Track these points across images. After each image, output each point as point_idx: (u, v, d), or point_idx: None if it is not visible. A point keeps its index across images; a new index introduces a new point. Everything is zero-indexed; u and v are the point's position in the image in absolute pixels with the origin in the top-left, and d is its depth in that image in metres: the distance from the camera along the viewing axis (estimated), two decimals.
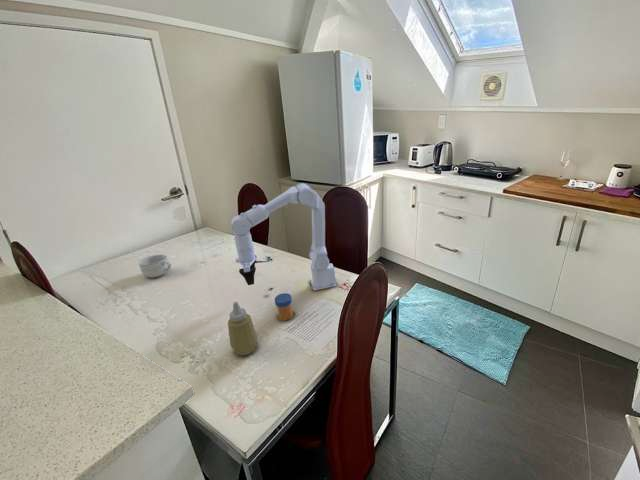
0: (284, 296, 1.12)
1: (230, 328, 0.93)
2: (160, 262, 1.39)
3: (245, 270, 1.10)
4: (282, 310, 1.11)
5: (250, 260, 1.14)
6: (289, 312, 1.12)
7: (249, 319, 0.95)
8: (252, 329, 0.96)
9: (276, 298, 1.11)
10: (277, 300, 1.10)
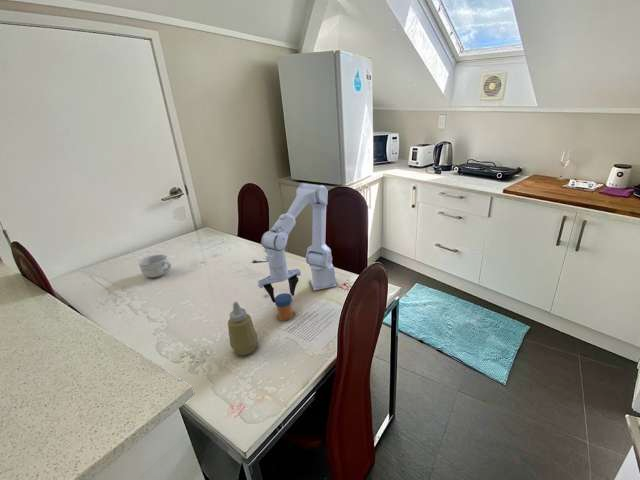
0: (284, 296, 1.12)
1: (230, 328, 0.93)
2: (160, 262, 1.39)
3: (258, 284, 1.05)
4: (282, 310, 1.11)
5: (273, 279, 1.05)
6: (289, 312, 1.12)
7: (249, 319, 0.95)
8: (252, 329, 0.96)
9: (276, 298, 1.11)
10: (277, 300, 1.10)
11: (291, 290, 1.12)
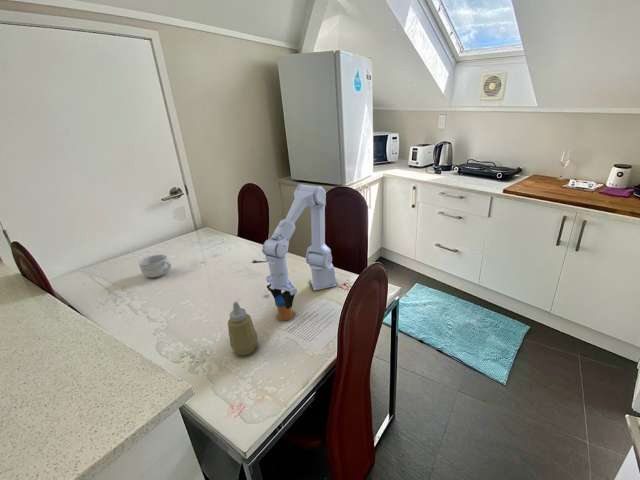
0: None
1: (230, 328, 0.93)
2: (160, 262, 1.39)
3: (293, 293, 1.05)
4: (282, 310, 1.11)
5: (288, 282, 1.08)
6: (289, 312, 1.12)
7: (249, 319, 0.95)
8: (252, 329, 0.96)
9: (276, 298, 1.11)
10: (277, 300, 1.10)
11: None
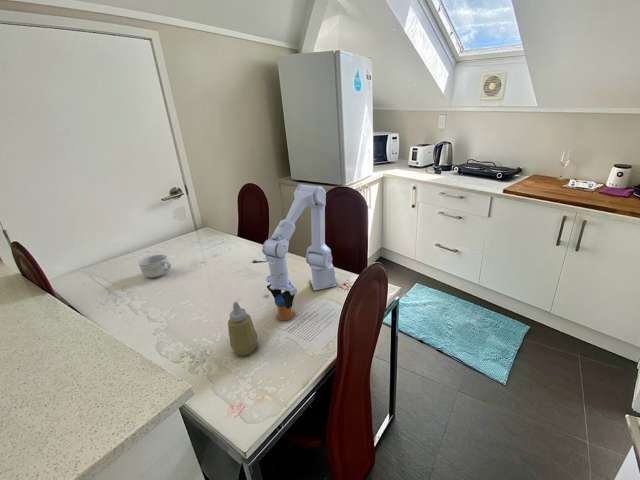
0: (281, 296, 1.12)
1: (230, 328, 0.93)
2: (160, 262, 1.39)
3: (293, 293, 1.05)
4: (283, 310, 1.11)
5: (288, 283, 1.08)
6: (289, 312, 1.12)
7: (249, 319, 0.95)
8: (252, 329, 0.96)
9: (280, 301, 1.09)
10: None
11: None
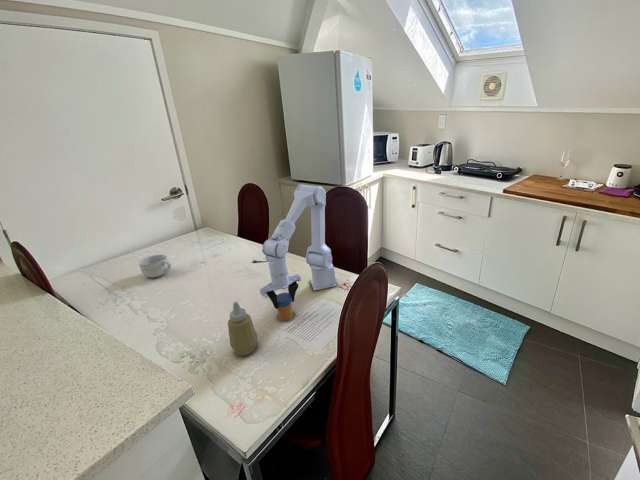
0: (280, 298, 1.11)
1: (230, 328, 0.93)
2: (160, 262, 1.39)
3: None
4: (283, 310, 1.11)
5: None
6: (289, 311, 1.12)
7: (249, 319, 0.95)
8: (252, 329, 0.96)
9: (288, 298, 1.11)
10: (289, 295, 1.12)
11: None
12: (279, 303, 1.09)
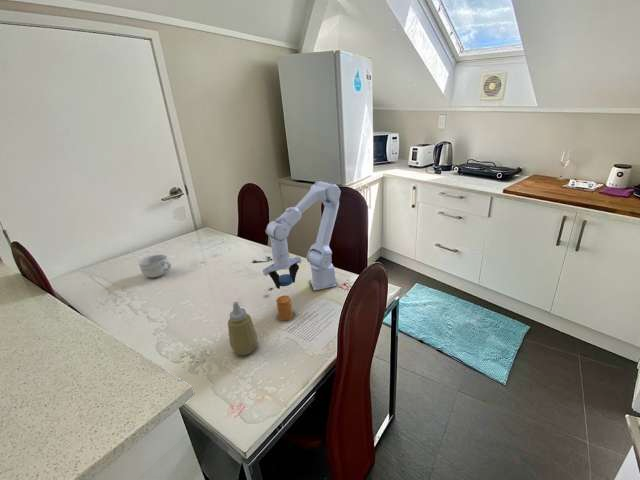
0: (282, 279, 1.18)
1: (230, 328, 0.93)
2: (160, 262, 1.39)
3: None
4: (283, 310, 1.11)
5: None
6: (289, 311, 1.12)
7: (249, 319, 0.95)
8: (252, 329, 0.96)
9: (290, 278, 1.18)
10: (290, 276, 1.19)
11: None
12: (281, 283, 1.16)
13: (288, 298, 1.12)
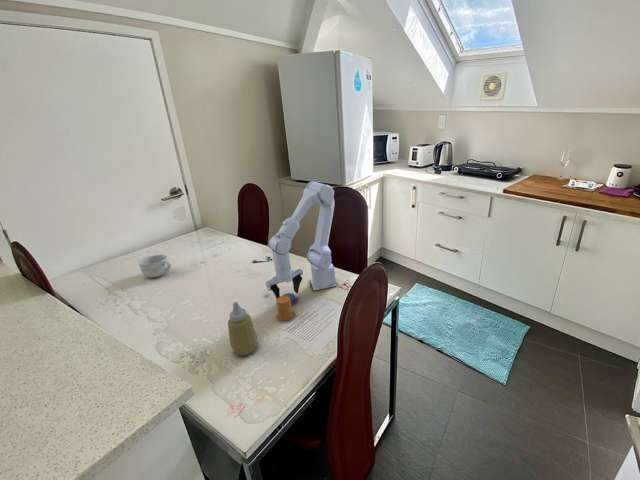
0: None
1: (230, 328, 0.93)
2: (160, 262, 1.39)
3: None
4: (283, 310, 1.11)
5: None
6: (289, 311, 1.12)
7: (249, 319, 0.95)
8: (252, 329, 0.96)
9: (292, 298, 1.22)
10: (293, 296, 1.23)
11: None
12: None
13: (288, 298, 1.12)
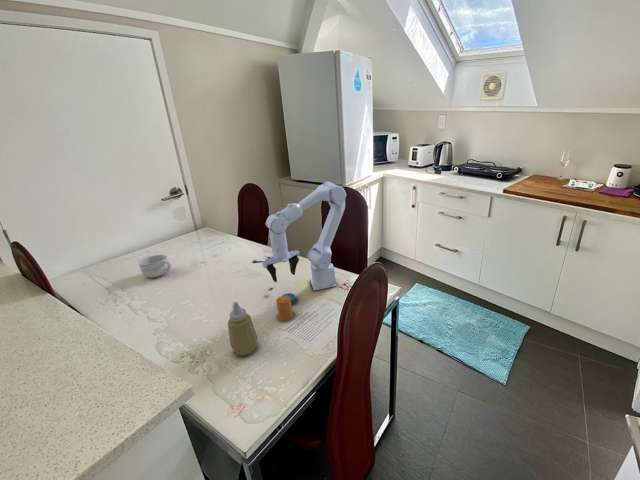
0: None
1: (230, 328, 0.93)
2: (160, 262, 1.39)
3: None
4: (283, 310, 1.11)
5: None
6: (289, 311, 1.12)
7: (249, 319, 0.95)
8: (252, 329, 0.96)
9: (292, 298, 1.22)
10: (293, 296, 1.23)
11: None
12: None
13: (288, 298, 1.12)
